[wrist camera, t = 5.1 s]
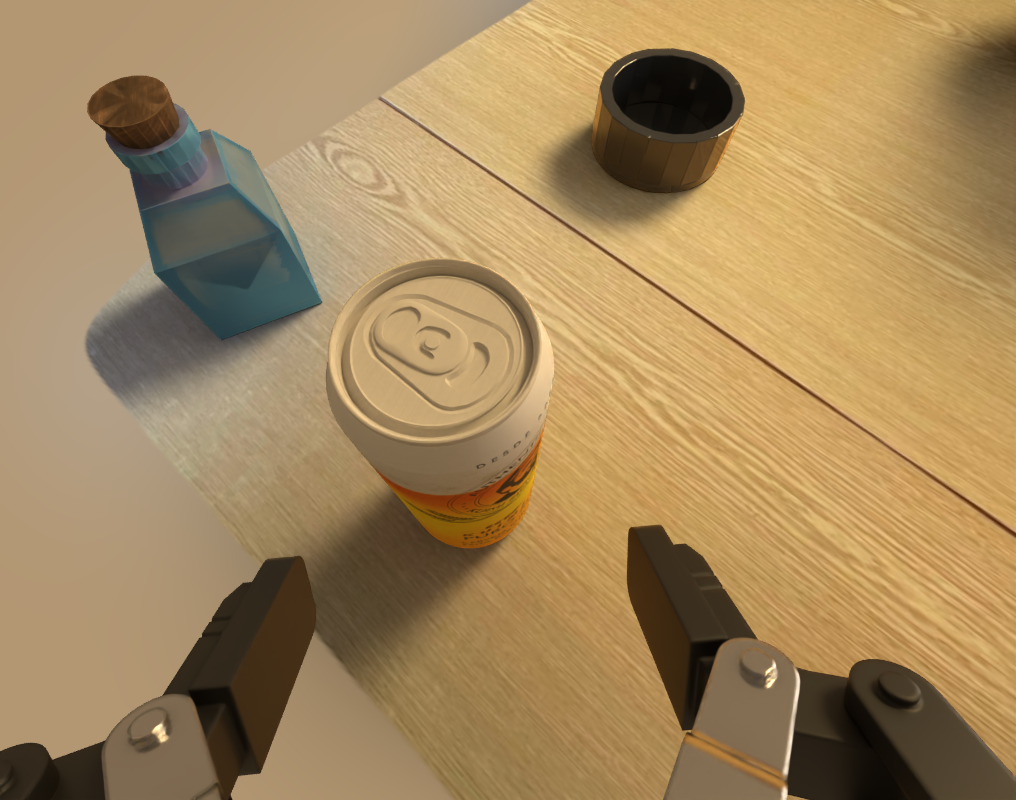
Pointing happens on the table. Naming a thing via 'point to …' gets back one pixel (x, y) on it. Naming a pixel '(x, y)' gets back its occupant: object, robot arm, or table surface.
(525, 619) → the table surface
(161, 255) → the perfume bottle
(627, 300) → the table surface
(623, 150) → the round brown bowl
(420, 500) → the beer can
